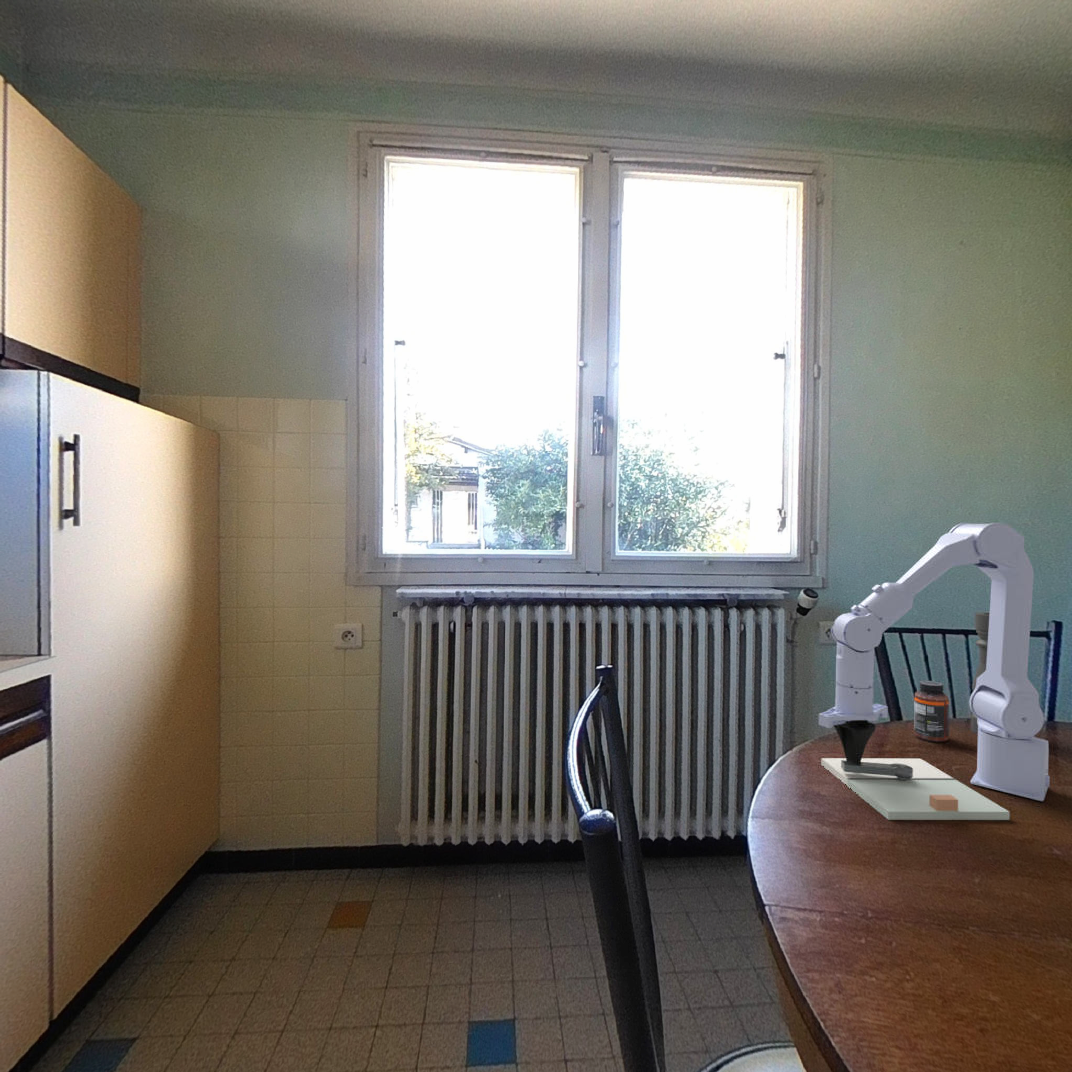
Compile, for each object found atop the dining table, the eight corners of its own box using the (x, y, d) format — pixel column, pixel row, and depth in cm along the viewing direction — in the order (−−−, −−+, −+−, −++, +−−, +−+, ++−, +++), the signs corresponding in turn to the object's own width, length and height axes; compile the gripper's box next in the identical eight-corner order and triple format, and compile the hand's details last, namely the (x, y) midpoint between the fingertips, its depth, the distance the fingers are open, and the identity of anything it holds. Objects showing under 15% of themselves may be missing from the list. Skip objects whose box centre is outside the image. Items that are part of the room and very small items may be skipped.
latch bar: (908, 771, 103) (908, 764, 103) (915, 779, 99) (916, 771, 99) (840, 765, 105) (840, 758, 105) (845, 773, 102) (845, 766, 102)
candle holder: (1000, 730, 130) (1003, 613, 129) (1012, 739, 124) (1015, 617, 124) (966, 726, 132) (969, 611, 131) (976, 736, 126) (979, 615, 126)
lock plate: (920, 765, 111) (920, 749, 110) (1009, 819, 90) (1009, 801, 90) (821, 764, 110) (821, 749, 110) (888, 819, 90) (888, 800, 90)
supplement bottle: (938, 733, 128) (939, 679, 127) (955, 743, 122) (956, 687, 122) (908, 732, 128) (909, 678, 128) (923, 742, 122) (924, 686, 122)
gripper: (845, 695, 98) (843, 779, 98) (904, 685, 104) (903, 765, 104) (808, 684, 104) (807, 763, 105) (867, 676, 110) (865, 750, 111)
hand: (852, 763), depth 105 cm, fingers closed, pressing on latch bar
